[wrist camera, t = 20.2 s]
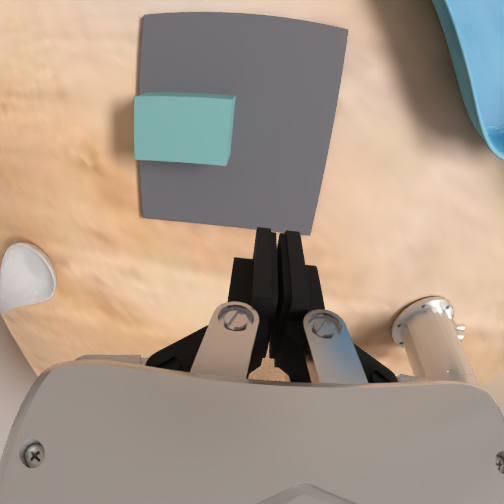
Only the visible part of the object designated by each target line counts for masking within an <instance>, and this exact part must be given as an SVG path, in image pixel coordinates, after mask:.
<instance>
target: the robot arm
mask: <svg viewBox="0 0 504 504" xmlns="http://www.w3.org/2000/svg"><path fill="white" fill-rule="evenodd" d="M453 316H454V310H453V307H452V305H451V303H450V302H449V301H448V300H447V299H445V298H443V297H428V298H424V299H421V300H419V301H417V302H415V303H413V304H411V305H410V306H408V307H407V308H406V309H404V310H403V311H402V312H401V313H400V314H399V316H398V317H397V318H396V319H395V321H394V323H393V325H392V329H391V334H392V337H393V340H394V342H395V343H396V344H397V345H399V346H401V347H405V350H406V353H407V356H408V359H409V362H410V365H411V368H412V371H413V374H414V376H408V375H403V374H400V375H399V376H398V377H397V376H395V375H394V373H393V372H392V371H390V370H389V369H388V368H387V367H385V366H384V365H382V364H381V363H380V362H378V361H377V360H376V359H374V358H373V357H371V356H370V355H369V354H367V353H366V352H365V351H363V350H362V349H360V348H359V347H358V346H356V345H355V344H354V343H353V342H352V340H351V337H350V335H349V332H348V330H347V327H346V325H345V323H344V321H343V320H342V318H340V317H339V316H338V315H337V314H335V313H333V312H331V311H328V310H325V307H324V301H323V296H322V291H321V285H320V280H319V275H318V270H317V267H316V266H311V265H305V261H304V255H303V248H302V242H301V236H300V232H297V231H289V230H286V231H285V234H283V233H280V235H279V240H278V246H277V244H276V233H274V232H271V228H263V227H257V231H256V239H255V247H254V254H253V259H246V258H236V257H234V262H233V269H232V276H231V283H230V289H229V296H228V302H227V303H224V304H221V305H220V306H219V307H217V308H216V310H215V311H214V313H213V315H212V318H211V320H210V323H209V325H207V326H206V327H204V328H202V329H200V330H198V331H196V332H194V333H192V334H191V335H189V336H187V337H185V338H183V339H181V340H179V341H177V342H175V343H173V344H171V345H170V346H168V347H166V348H164V349H162V350H160V351H158V352H156V353H155V354H153V355H152V356H150V358H141V355H84V356H81V357H79V358H77V359H76V360H75V361H67V362H62V363H59V364H56V365H53V366H51V367H49V368H47V369H46V370H45V371H44V372H42V373H41V375H40V376H39V377H38V378H37V379H36V381H35V382H34V383H33V385H32V387H31V388H30V390H29V392H28V393H27V395H26V397H25V399H24V401H23V402H22V404H21V407H20V409H19V411H18V413H17V416H16V418H15V420H14V423H13V425H12V427H11V430H10V433H9V436H8V438H7V442H6V444H5V448H4V450H3V454H2V457H1V460H0V504H504V417H503V415H502V413H501V410H500V408H499V406H498V404H497V403H496V401H495V399H494V398H493V397H492V396H491V394H490V393H489V392H487V391H486V390H484V389H482V388H480V386H479V383H478V381H477V378H476V376H475V374H474V371H473V369H472V367H471V364H470V362H469V360H468V357H467V355H466V353H465V351H464V348H463V346H462V344H461V341H462V340H463V333H462V332H463V331H464V328H465V327H464V325H463V324H457V325H456V324H455V322H454V320H453ZM268 344H269V358H272V359H275V367H279V368H280V369H281V370H283V371H284V372H285V373H286V375H285V382H280V381H265V380H253V379H249V374H250V373H251V372H252V371H254V370H255V369H257V368H258V367H260V366H261V362H262V358H265V357H266V353H267V349H268Z"/></svg>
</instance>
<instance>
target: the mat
mask: <svg viewBox="0 0 504 504" xmlns="http://www.w3.org/2000/svg"><path fill="white" fill-rule="evenodd" d="M347 36H348V29H343V28H339V27H334V26H330V25H325V24H320V23H315V22H309V21H303V20H297V19H290V18H283V17H275V16H266V15H256V14H243V13H224V12H180V13H160V14H148V15H144V19H143V30H142V43H141V59H140V80H139V95H141V94H144V93H147V92H185V93H208V94H224V95H236V99H235V109H234V120H233V130H232V141H231V152H230V157H229V160H228V162H227V165H226V166H219V165H208V164H196V163H183V162H168V161H150V160H139V161H140V184H141V201H142V215H143V218H149V219H160V220H170V221H181V222H191V223H201V224H211V225H220V226H230V227H239V228H248V229H257V227H263V228H271V231H275V232H284V233H285V231H286V230H289V231H297V232H300V234H301V235H309V236H310V233H311V229H312V224H313V220H314V216H315V211H316V207H317V202H318V197H319V193H320V188H321V183H322V179H323V174H324V169H325V164H326V159H327V154H328V149H329V144H330V138H331V133H332V128H333V122H334V117H335V111H336V106H337V100H338V94H339V88H340V82H341V76H342V70H343V63H344V57H345V50H346V43H347Z"/></svg>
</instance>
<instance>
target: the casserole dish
mask: <svg viewBox="0 0 504 504" xmlns="http://www.w3.org/2000/svg"><path fill="white" fill-rule="evenodd" d="M432 2H433V5H434V7H435V10H436V13H437V15H438V18H439V21H440V23H441V26H442V29H443V32H444V36H445V39H446V42H447V45H448V49H449V52H450V56H451V59H452V63H453V67H454V70H455V74H456V78H457V82H458V85H459V89H460V92H461V95H462V98H463V102H464V104H465V107H466V110H467V113H468V115H469V118H470V120H471V122H472V124H473V125H474V127H475V129H476V130H477V132H478V133H479V135H480V136H481V138H482V139H483V140H484V142H485V143H486V144H487V146H488V147H489V149H490V150H491V151H492V152H493V153H494V154H495V155H496V156H497V157H499V158H501V159H504V0H432Z"/></svg>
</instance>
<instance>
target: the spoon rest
mask: <svg viewBox="0 0 504 504" xmlns="http://www.w3.org/2000/svg"><path fill="white" fill-rule="evenodd" d="M56 285H57V279H56V273H55V270H54V267H53V265H52V263H51V261H50V259H49V258H48V256H47V255H46V254H45V253H44V252H43V251H42V250H41V249H40V248H38V247H37V246H35V245H33V244H31V243H27V242H17V243H14V244H12V245H11V246H9V247H8V249H7V250H6V252H5V254H4V256H3V259H2V264H1V269H0V311H1V312H2V313H5V312H7V311H9V310H11V309H14V308H18V307H22V306H27V305H32V304H36V303H40V302H43V301H46V300H48V299H49V298H51V297H52V296H53V295H54V293H55V291H56Z"/></svg>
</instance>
